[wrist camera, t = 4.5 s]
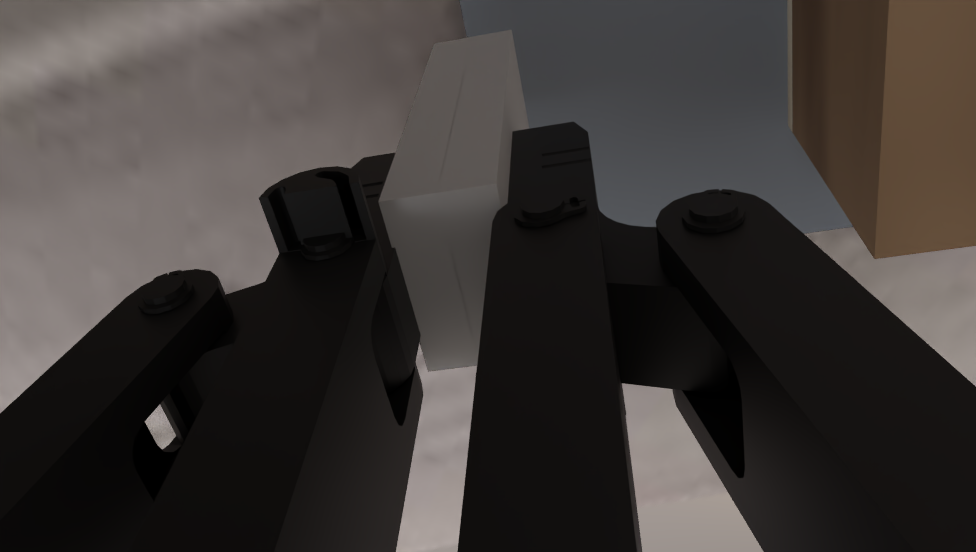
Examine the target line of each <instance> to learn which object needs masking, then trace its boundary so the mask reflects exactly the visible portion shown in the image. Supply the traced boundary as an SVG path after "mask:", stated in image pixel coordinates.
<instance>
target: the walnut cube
mask: <svg viewBox="0 0 976 552" xmlns="http://www.w3.org/2000/svg"><path fill="white" fill-rule="evenodd" d="M787 25H788V126H789V128H790V129H791V131H792V133H793V134H794V136H795V137H796V139H797V140H798V142H799V143H800V145H801V146H802V148H803V150H804V151H805V153H806V154H807V156H808V157H809V159H810V160H811V162H812V163H813V165H814V166H815V168H816V170H817V171H818V173H819V174H820V176H821V177H822V179H823V180H824V182H825V183H826V185H827V187H828V188H829V190H830V191H831V193H832V194H833V196H834V197H835V199H836V200H837V202H838V204H839V205H840V207H841V208H842V210H843V211H844V213H845V214H846V216H847V217H848V219H849V221H850V222H851V224H852V225H853V227H854V228H855V230H856V231H857V233H858V234H859V236H860V237H861V239H862V241H863V242H864V244H865V245H866V247H867V248H868V250H869V251H870V253H871V254H872V256H873V258H874V259H878V258H885V257H893V256H900V255H908V254H916V253H923V252H931V251H938V250H946V249H954V248H961V247H969V246H976V0H787Z"/></svg>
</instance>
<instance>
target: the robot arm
mask: <svg viewBox="0 0 976 552" xmlns="http://www.w3.org/2000/svg"><path fill="white" fill-rule="evenodd" d="M259 200H260V203H261V205H262V208H263V211H264V213H265V216H266V219H267V221H268V224H269V227H270V229H271V232H272V235H273V237H274V240H275V242H276V245H277V248H278V250H279V255H278V257H277V259H276V261H275V263H274V265H273V267H272V269H271V271H270V273H269V275H268V277H267V279H266V281H265V282H263V283H260V284H258V285H255V286H251V287H248V288H245V289H242V290H239V291H236V292H233V293H229V294H226V295H225V292H224V290H223V288H222V285H221V283H220V281H219V278H218V277H217V276H216V275H215V274H213V273H212V272H211V271H206V270H199V269H194V270H186V271H181V270H178V271H173V272H169V275H167V273H166V274H163V275H160V276H158V277H156V278H154V280H153V281H151V282H149V283H147V284H145V285H143V286H141V287H140V288H138V289H137V290H136V291H134V292H133V293H132V294H130V295H129V296H128V297H126V298H125V299H124V300H123V301H122V302H121V303H120V304H119V305H118V306H116V307H115V308H114V309H113V310H112V311H111V312H110V313H109V314H108V315H107V316H106V317H105V318H103V319H102V320H101V321H100V322H99V323H98V324H97V325H96V326H95V327H94V328H93V329H91V330H90V331H89V332H88V333H87V334H86V335H85V336H84V337H83V338H82V339H81V340H80V341H78V342H77V343H76V344H75V345H74V346H73V347H72V348H71V349H70V350H69V351H68V352H67V353H65V354H64V355H63V356H62V357H61V358H60V359H59V360H58V361H57V362H56V363H55V364H53V365H52V366H51V367H50V368H49V369H48V370H47V371H46V372H45V373H44V374H43V375H42V376H40V377H39V378H38V379H37V380H36V381H35V382H34V383H33V384H32V385H31V386H30V387H29V388H27V389H26V390H25V391H24V392H23V393H22V394H21V395H20V396H19V397H18V398H17V399H16V400H14V401H13V402H12V403H11V404H10V405H9V406H8V407H7V408H6V409H5V410H4V411H2V412H1V413H0V552H396V547H397V541H398V535H399V530H400V524H401V518H402V512H403V507H404V501H405V495H406V490H407V484H408V478H409V473H410V467H411V461H412V455H413V450H414V444H415V438H416V433H417V427H418V421H419V416H420V410H421V404H422V398H423V389H422V383H421V379H420V376H419V373H418V369H417V366H416V363H415V361H416V356H417V351H418V346H419V342H420V345H421V349H422V352H423V355H424V359H425V362H426V366H427V369H428V371H436V370H445V369H453V368H461V367H469V366H477V372H476V382H475V391H474V401H473V410H472V420H471V429H470V439H469V448H468V458H467V467H466V477H465V486H464V496H463V505H462V515H461V524H460V534H459V543H458V552H642V546H641V538H640V530H639V522H638V514H637V505H636V497H635V489H634V481H633V473H632V465H631V457H630V449H629V441H628V432H627V424H626V416H625V415H626V410H625V403H624V396H623V389H622V383H625V384H634V385H643V386H652V387H660V388H669V389H673V395H674V399H675V402H676V406H677V408H678V409H679V411H680V413H681V414H682V416H683V418H684V419H685V421H686V423H687V424H688V426H689V428H690V429H691V431H692V433H693V434H694V436H695V438H696V439H697V441H698V443H699V444H700V446H701V448H702V449H703V451H704V453H705V454H706V456H707V458H708V459H709V461H710V463H711V464H712V466H713V468H714V469H715V471H716V473H717V474H718V476H719V478H720V479H721V481H722V483H723V484H724V486H725V488H726V490H727V491H728V493H729V495H730V496H731V498H732V500H733V501H734V503H735V505H736V506H737V508H738V510H739V511H740V513H741V515H742V516H743V518H744V519H745V521H746V523H747V525H748V526H749V528H750V530H751V531H752V533H753V535H754V536H755V538H756V540H757V541H758V543H759V545H760V546H761V548H762V549H763V551H764V552H976V387H975V386H974V385H973V384H972V383H971V382H970V381H969V380H968V379H966V378H965V377H964V376H963V375H962V374H961V373H960V372H959V371H957V370H956V369H955V368H954V367H953V366H952V365H951V364H950V363H948V362H947V361H946V360H945V359H944V358H943V357H942V356H941V355H939V354H938V353H937V352H936V351H935V350H934V349H933V348H932V347H930V346H929V345H928V344H927V343H926V342H925V341H924V340H923V339H921V338H920V337H919V336H918V335H917V334H916V333H915V332H914V331H912V330H911V329H910V328H909V327H908V326H907V325H906V324H905V323H903V322H902V321H901V320H900V319H899V318H898V317H897V316H896V315H894V314H893V313H892V312H891V311H890V310H889V309H888V308H887V307H885V306H884V305H883V304H882V303H881V302H880V301H879V300H878V299H876V298H875V297H874V296H873V295H872V294H871V293H870V292H869V291H867V290H866V289H865V288H864V287H863V286H862V285H861V284H859V283H858V282H857V281H856V280H855V279H854V278H853V277H852V276H850V275H849V274H848V273H847V272H846V271H845V270H844V269H843V268H841V267H840V266H839V265H838V264H837V263H836V262H835V261H834V260H832V259H831V258H830V257H829V256H828V255H827V254H826V253H825V252H823V251H822V250H821V249H820V248H819V247H818V246H817V245H816V244H814V243H813V242H812V241H811V240H810V239H809V238H808V237H807V236H805V235H804V234H803V233H802V232H801V231H800V230H799V229H798V228H796V227H795V226H794V225H793V224H792V223H791V222H790V221H789V220H787V219H786V218H785V217H784V216H783V215H782V214H781V213H780V212H778V211H777V210H776V209H775V208H774V207H773V206H772V205H771V204H769V203H768V202H766V201H765V200H763V199H761V198H759V197H757V196H756V195H753V194H748V193H744V192H739V191H735V190H730V189H722V190H719V189H711V190H706V191H704V192H700V193H694V194H690V195H687V196H685V197H682V198H679V199H677V200H674V201H672V202H671V203H670V204H668V205H667V206H666V207H664V208H663V209H662V210H661V211H660V213H659V215H658V217H657V219H656V227H643V226H633V225H627V224H623V223H619V222H616V221H614V220H612V219H610V218H608V217H606V216H605V215H604V214H603V213H602V212H601V211H600V210H599V207H598V200H597V193H596V185H595V178H594V171H593V164H592V157H591V150H590V143H589V136H588V132H587V131H586V130H585V129H583V128H582V127H580V126H579V125H578V124H576V123H575V122H574V121H573V122H567V123H561V124H555V125H548V126H542V127H536V128H530V129H529V124H528V119H527V113H526V108H525V102H524V96H523V91H522V85H521V80H520V74H519V68H518V63H517V57H516V52H515V46H514V40H513V35H512V30H507V31H501V32H495V33H490V34H484V35H479V36H473V37H468V38H462V39H457V40H451V41H445V42H440V43H434V46H433V48H432V51H431V54H430V57H429V60H428V63H427V65H426V68H425V71H424V74H423V77H422V80H421V82H420V85H419V88H418V91H417V94H416V97H415V99H414V102H413V105H412V108H411V111H410V114H409V116H408V119H407V122H406V125H405V128H404V131H403V133H402V136H401V139H400V142H399V145H398V148H397V150H396V153H390V154H384V155H378V156H372V157H365V158H363V159H361V160H360V161H359V162H358V163H357V164H356V165H354V166H353V167H352V168H344V167H338V166H336V167H323V168H317V169H313V170H308V171H304V172H300V173H298V174H295V175H293V176H290V177H288V178H285V179H283V180H281V181H279V182H278V183H276V184H274V185H273V186H271V187H270V188H268V189H267V190H266V191H265V192H264V193H263V194H262V195H261V196H260V197H259ZM159 404H160V405H161V407H162V409H163V411H164V413H165V414H166V416H167V418H168V420H169V422H170V424H171V426H172V428H173V430H174V432H175V434H176V437H175V438H174V439H173V441H172V442H171V443H170V444H169V445H168V446H167V447H165V448H164V449H163V450H162V449H161V448H160V447H159V446H158V445H157V444H156V442H155V440H154V438H153V436H152V435H151V433H150V431H149V429H148V427H147V425H146V423H145V422H144V421H145V420H146V419H147V418H148V417H149V416H150V415H151V413H152V412H153V411H154V410H155V409H156V408H157V407H158V405H159Z"/></svg>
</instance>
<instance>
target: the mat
mask: <svg viewBox="0 0 976 552" xmlns="http://www.w3.org/2000/svg"><path fill="white" fill-rule="evenodd" d="M459 1H460V6H461V11H462V16H463V21H464V25H465V30H466V35H467V38H468V37H473V36H479V35H484V34H490V33H495V32H501V31H507V30H512V35H513V40H514V46H515V52H516V57H517V63H518V68H519V74H520V80H521V85H522V91H523V96H524V102H525V108H526V113H527V119H528V124H529V129H530V128H536V127H542V126H548V125H555V124H561V123H567V122H573V121H574V122H575V123H576V124H578V125H579V126H580V127H582V128H583V129H585V130H586V131H587V132H588V136H589V143H590V150H591V157H592V164H593V171H594V178H595V185H596V193H597V200H598V207H599V210H600V211H601V212H602V213H603V214H604V215H605V216H606V217H608V218H610V219H612V220H614V221H616V222H619V223H623V224H627V225H633V226H643V227H656V219H657V217H658V215H659V213H660V211H661V210H662V209H663V208H664V207H666V206H667V205H668V204H670V203H671V202H672V201H674V200H677V199H679V198H682V197H685V196H687V195H690V194H694V193H700V192H704V191H706V190H711V189H719V190H722V189H730V190H735V191H739V192H744V193H748V194H753V195H756V196H757V197H759V198H761V199H763V200H765V201H766V202H768V203H769V204H771V205H772V206H773V207H774V208H775V209H776V210H777V211H778V212H780V213H781V214H782V215H783V216H784V217H785V218H786V219H787V220H789V221H790V222H791V223H792V224H793V225H794V226H795V227H796V228H798V229H799V230H800V231H801V232H802V233H803V234H804V233H811V232H818V231H825V230H833V229H840V228H847V227H853V225H852V224H851V222H850V221H849V219H848V217H847V216H846V214H845V213H844V211H843V210H842V208H841V207H840V205H839V204H838V202H837V200H836V199H835V197H834V196H833V194H832V193H831V191H830V190H829V188H828V187H827V185H826V183H825V182H824V180H823V179H822V177H821V176H820V174H819V173H818V171H817V170H816V168H815V166H814V165H813V163H812V162H811V160H810V159H809V157H808V156H807V154H806V153H805V151H804V150H803V148H802V146H801V145H800V143H799V142H798V140H797V139H796V137H795V136H794V134H793V133H792V131H791V129H790V128H789V126H788V25H787V0H459Z"/></svg>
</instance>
